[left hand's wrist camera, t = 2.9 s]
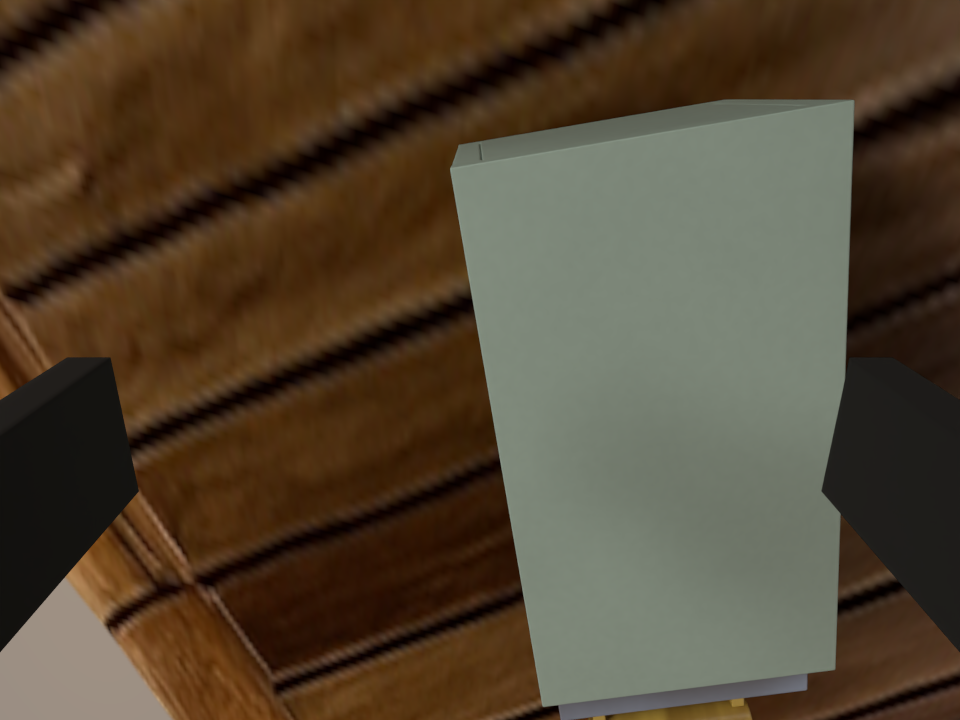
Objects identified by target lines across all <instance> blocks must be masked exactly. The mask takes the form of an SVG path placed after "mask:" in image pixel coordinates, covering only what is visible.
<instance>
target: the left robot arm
mask: <svg viewBox="0 0 960 720" xmlns="http://www.w3.org/2000/svg"><path fill="white" fill-rule="evenodd" d="M138 492H139V490H138V485H137V481H136V476H135V471H134V467H133V462H132V457H131V452H130V448H129V443H128V438H127V433H126V429H125V424H124V419H123V415H122V410H121V405H120V400H119V396H118V391H117V386H116V382H115V377H114V372H113V367H112V363H111V358H66V359H64V360H63V361H61V362H59V363H58V364H56V365H55V366H53V367H52V368H50V369H48V370H47V371H45V372H44V373H42V374H41V375H39V376H37V377H36V378H34V379H33V380H31V381H30V382H28V383H26V384H25V385H23V386H22V387H20V388H19V389H17V390H15V391H14V392H12V393H11V394H9V395H8V396H6V397H4V398H3V399H1V400H0V652H1V651H2V649H3V648H4V647H5V646H6V645H7V644H8V642H9V641H10V640H11V639H12V638H13V637H14V636H15V634H16V633H17V632H18V631H19V630H20V628H21V627H22V626H23V625H24V624H25V623H26V622H27V620H28V619H29V618H30V617H31V616H32V615H33V613H34V612H35V611H36V610H37V609H38V608H39V606H40V605H41V604H42V603H43V602H44V601H45V600H46V598H47V597H48V596H49V595H50V594H51V593H52V591H53V590H54V589H55V588H56V587H57V586H58V584H59V583H60V582H61V581H62V580H63V579H64V577H65V576H66V575H67V574H68V573H69V572H70V571H71V569H72V568H73V567H74V566H75V565H76V564H77V562H78V561H79V560H80V559H81V558H82V557H83V555H84V554H85V553H86V552H87V551H88V550H89V548H90V547H91V546H92V545H93V544H94V543H95V541H96V540H97V539H98V538H99V537H100V536H101V535H102V533H103V532H104V531H105V530H106V529H107V528H108V526H109V525H110V524H111V523H112V522H113V521H114V519H115V518H116V517H117V516H118V515H119V514H120V512H121V511H122V510H123V509H124V508H125V507H126V506H127V504H128V503H129V502H130V501H131V500H132V499H133V497H134V496H135V495H136V494H137V493H138ZM821 492H822V493H823V494H824V495H825V496H826V497H827V499H828V500H829V501H830V502H831V503H832V504H833V506H834V507H835V508H836V509H837V510H838V511H839V512H840V514H841V515H842V516H843V517H844V518H845V519H846V521H847V522H848V523H849V524H850V525H851V526H852V528H853V529H854V530H855V531H856V532H857V533H858V535H859V536H860V537H861V538H862V539H863V540H864V541H865V543H866V544H867V545H868V546H869V547H870V548H871V550H872V551H873V552H874V553H875V554H876V555H877V557H878V558H879V559H880V560H881V561H882V562H883V564H884V565H885V566H886V567H887V568H888V569H889V571H890V572H891V573H892V574H893V575H894V576H895V577H896V579H897V580H898V581H899V582H900V583H901V584H902V586H903V587H904V588H905V589H906V590H907V591H908V593H909V594H910V595H911V596H912V597H913V598H914V600H915V601H916V602H917V603H918V604H919V605H920V606H921V608H922V609H923V610H924V611H925V612H926V613H927V615H928V616H929V617H930V618H931V619H932V620H933V622H934V623H935V624H936V625H937V626H938V627H939V629H940V630H941V631H942V632H943V633H944V634H945V636H946V637H947V638H948V639H949V640H950V641H951V642H952V644H953V645H954V646H955V647H956V648H957V649H958V651H959V652H960V400H959V399H957V398H956V397H954V396H952V395H951V394H949V393H948V392H946V391H945V390H943V389H941V388H940V387H938V386H937V385H935V384H934V383H932V382H930V381H929V380H927V379H926V378H924V377H923V376H921V375H919V374H918V373H916V372H915V371H913V370H912V369H910V368H908V367H907V366H905V365H904V364H902V363H901V362H899V361H897V360H896V359H894V358H849V363H848V367H847V372H846V377H845V382H844V386H843V391H842V396H841V400H840V405H839V410H838V415H837V419H836V424H835V429H834V433H833V438H832V443H831V448H830V452H829V457H828V462H827V467H826V471H825V476H824V481H823V485H822V490H821Z"/></svg>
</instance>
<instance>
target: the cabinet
mask: <svg viewBox="0 0 960 720" xmlns="http://www.w3.org/2000/svg"><path fill="white" fill-rule="evenodd" d="M853 131H854V100H720V101H714V102H708V103H702V104H696V105H690V106H685V107H679V108H673V109H667V110H661V111H655V112H649V113H644V114H638V115H632V116H626V117H620V118H614V119H608V120H603V121H597V122H591V123H585V124H579V125H573V126H567V127H561V128H556V129H550V130H544V131H538V132H532V133H526V134H520V135H515V136H509V137H503V138H497V139H491V140H485V141H479V142H474V143H468V144H462V145H459V146H458V150H457V153H456V156H455V159H454V162H453V165H452V166H451V169H450V171H451V177H452V183H453V189H454V194H455V200H456V206H457V212H458V218H459V223H460V229H461V235H462V241H463V247H464V253H465V258H466V264H467V270H468V276H469V282H470V287H471V293H472V299H473V305H474V311H475V316H476V322H477V328H478V334H479V340H480V345H481V351H482V357H483V363H484V369H485V374H486V380H487V386H488V392H489V398H490V404H491V409H492V415H493V421H494V427H495V433H496V438H497V444H498V450H499V456H500V462H501V467H502V473H503V479H504V485H505V491H506V496H507V502H508V508H509V514H510V520H511V525H512V531H513V537H514V543H515V549H516V554H517V560H518V566H519V572H520V578H521V584H522V589H523V595H524V601H525V607H526V613H527V618H528V624H529V630H530V636H531V642H532V647H533V653H534V659H535V665H536V671H537V676H538V682H539V688H540V694H541V700H542V705H543V707H546V706H554V705H562V704H570V703H578V702H586V701H594V700H602V699H610V698H617V697H625V696H633V695H641V694H649V693H657V692H665V691H673V690H681V689H688V688H696V687H704V686H712V685H720V684H728V683H736V682H744V681H752V680H759V679H767V678H775V677H783V676H791V675H799V674H807V673H815V672H823V671H830V670H835V663H836V634H837V604H838V575H839V545H840V515H841V514H840V512H839V511H838V510H837V509H836V508H835V507H834V506H833V504H832V503H831V502H830V501H829V500H828V499H827V497H826V496H825V495H824V494H823V493H822V492H821V490H822V485H823V481H824V476H825V471H826V467H827V462H828V457H829V452H830V448H831V443H832V438H833V433H834V429H835V424H836V419H837V415H838V410H839V405H840V400H841V396H842V391H843V386H844V382H845V368H846V338H847V308H848V279H849V249H850V220H851V190H852V160H853Z"/></svg>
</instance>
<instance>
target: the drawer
mask: <svg viewBox="0 0 960 720" xmlns="http://www.w3.org/2000/svg"><path fill="white" fill-rule="evenodd" d="M804 690H807V674H799V675H791V676H783V677H775V678H767V679H759V680H752V681H744V682H736V683H728V684H720V685H712V686H704V687H696V688H688V689H681V690H673V691H665V692H657V693H649V694H641V695H633V696H625V697H617V698H610V699H602V700H594V701H586V702H578V703H570V704H562V705H558V706H559V712H560V718H561V720H573V719H581V718H588V720H752V716H751V713H750V709H749V706H748V704H747V701H746V700H745V698H749V697H756V696H764V695H772V694H780V693H788V692H796V691H804Z"/></svg>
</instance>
